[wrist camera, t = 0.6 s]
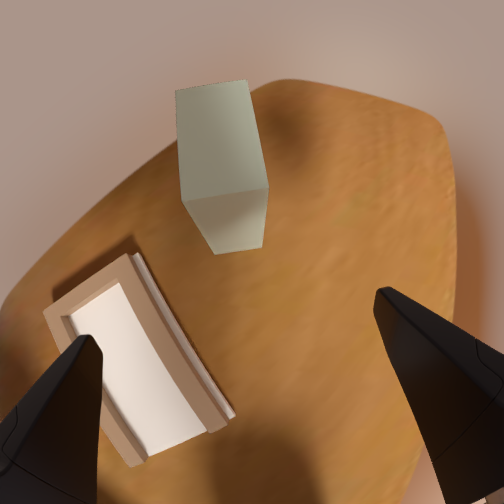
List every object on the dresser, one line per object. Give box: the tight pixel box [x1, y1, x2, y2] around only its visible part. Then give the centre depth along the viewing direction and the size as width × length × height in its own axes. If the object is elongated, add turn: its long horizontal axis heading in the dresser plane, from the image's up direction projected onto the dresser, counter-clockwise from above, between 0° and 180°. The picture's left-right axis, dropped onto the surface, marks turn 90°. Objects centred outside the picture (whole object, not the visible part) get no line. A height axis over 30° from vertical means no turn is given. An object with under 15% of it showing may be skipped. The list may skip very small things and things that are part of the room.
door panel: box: [175, 80, 269, 255], centre depth 18 cm, size 6×4×11 cm, turn 9°
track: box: [43, 253, 236, 468], centre depth 20 cm, size 14×10×2 cm
